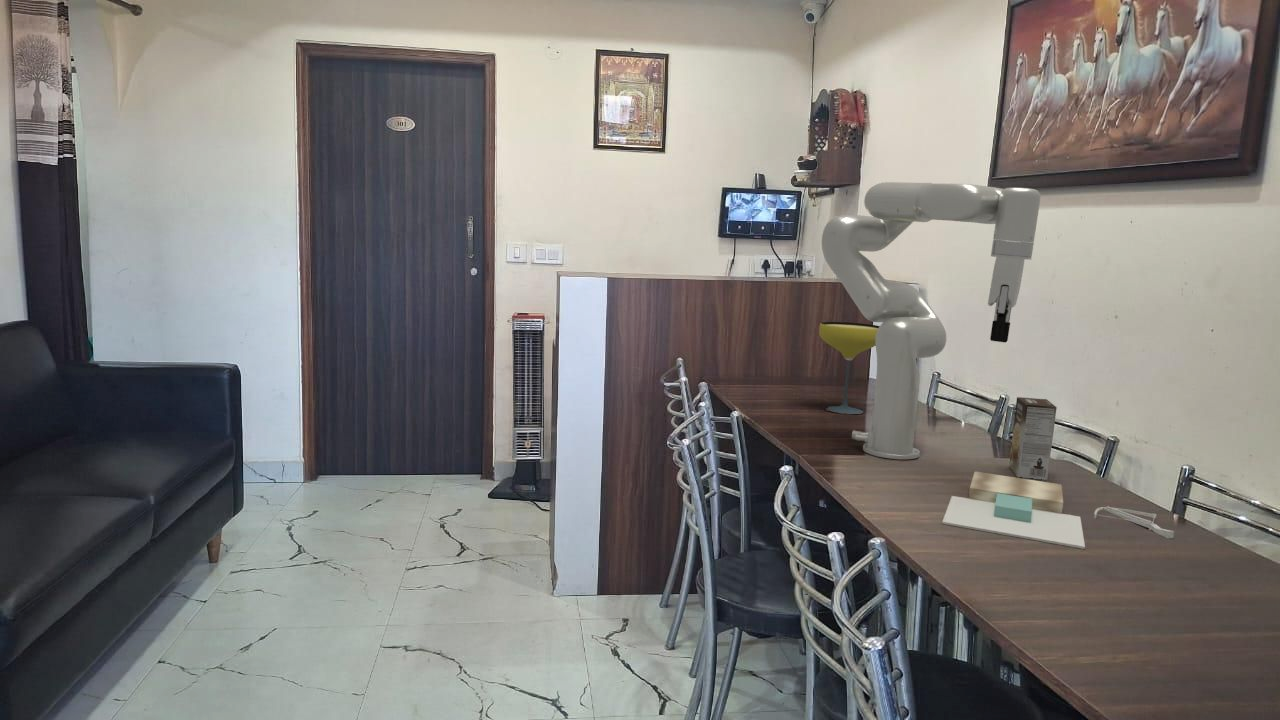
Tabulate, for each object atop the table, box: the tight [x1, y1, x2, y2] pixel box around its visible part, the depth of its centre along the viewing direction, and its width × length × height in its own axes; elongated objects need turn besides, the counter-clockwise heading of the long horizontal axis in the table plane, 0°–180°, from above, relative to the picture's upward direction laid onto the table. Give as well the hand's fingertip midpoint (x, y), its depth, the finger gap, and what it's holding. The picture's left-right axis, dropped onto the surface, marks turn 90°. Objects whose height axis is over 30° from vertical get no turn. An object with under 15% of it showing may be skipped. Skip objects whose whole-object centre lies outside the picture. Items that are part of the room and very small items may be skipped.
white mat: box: [941, 495, 1086, 550], centre depth 150 cm, size 22×18×1 cm
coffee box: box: [1008, 396, 1058, 481], centre depth 184 cm, size 9×6×16 cm
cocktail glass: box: [818, 321, 880, 415], centre depth 244 cm, size 18×18×25 cm
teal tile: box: [994, 493, 1032, 523], centre depth 154 cm, size 6×9×2 cm, turn 155°
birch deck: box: [968, 471, 1064, 514], centre depth 165 cm, size 16×14×2 cm
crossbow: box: [1093, 505, 1175, 539], centre depth 154 cm, size 16×13×2 cm
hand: (998, 341), depth 173 cm, fingers closed
